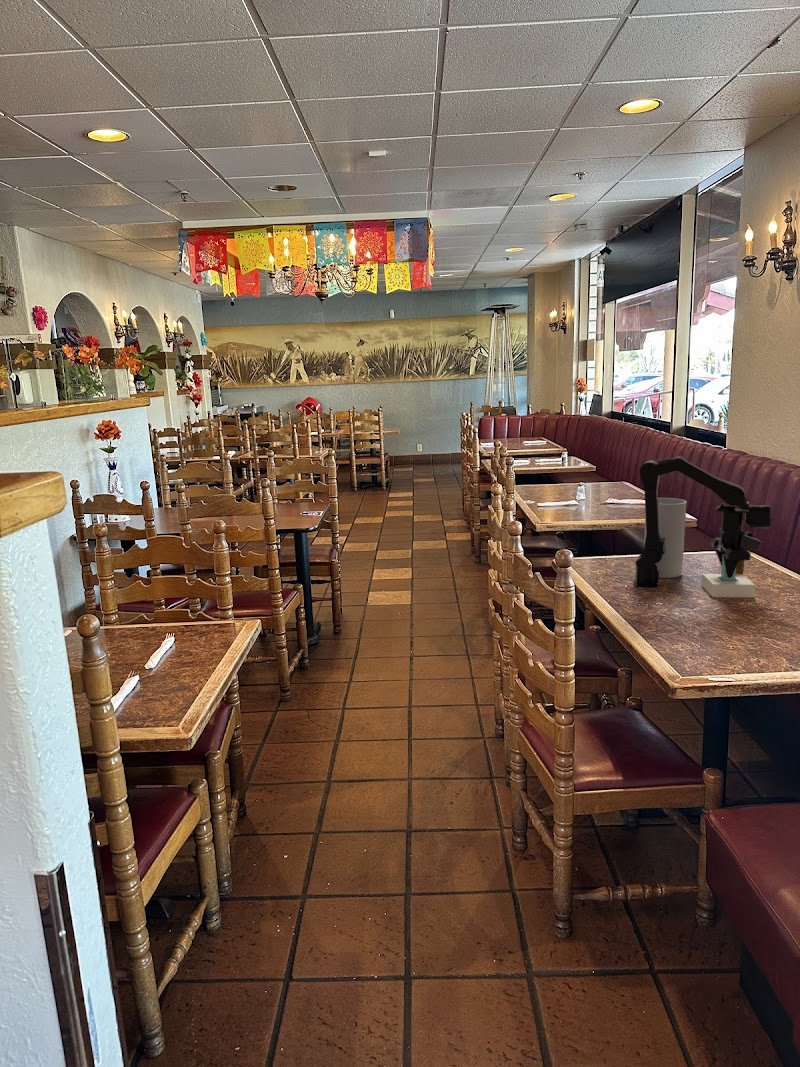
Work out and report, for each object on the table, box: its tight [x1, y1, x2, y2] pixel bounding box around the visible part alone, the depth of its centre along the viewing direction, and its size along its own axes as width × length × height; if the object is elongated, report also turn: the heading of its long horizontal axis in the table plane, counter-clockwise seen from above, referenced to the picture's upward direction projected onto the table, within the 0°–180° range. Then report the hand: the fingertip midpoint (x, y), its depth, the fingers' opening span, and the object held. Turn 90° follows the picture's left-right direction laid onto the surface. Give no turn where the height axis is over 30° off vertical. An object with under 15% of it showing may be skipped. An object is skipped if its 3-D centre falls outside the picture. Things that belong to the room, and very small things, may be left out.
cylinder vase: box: [643, 497, 687, 579], centre depth 245 cm, size 12×12×25 cm
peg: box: [720, 554, 736, 581], centre depth 225 cm, size 3×3×9 cm
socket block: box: [701, 573, 756, 599], centre depth 226 cm, size 12×12×4 cm
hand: (728, 575), depth 225 cm, fingers closed on peg, 3 cm apart
